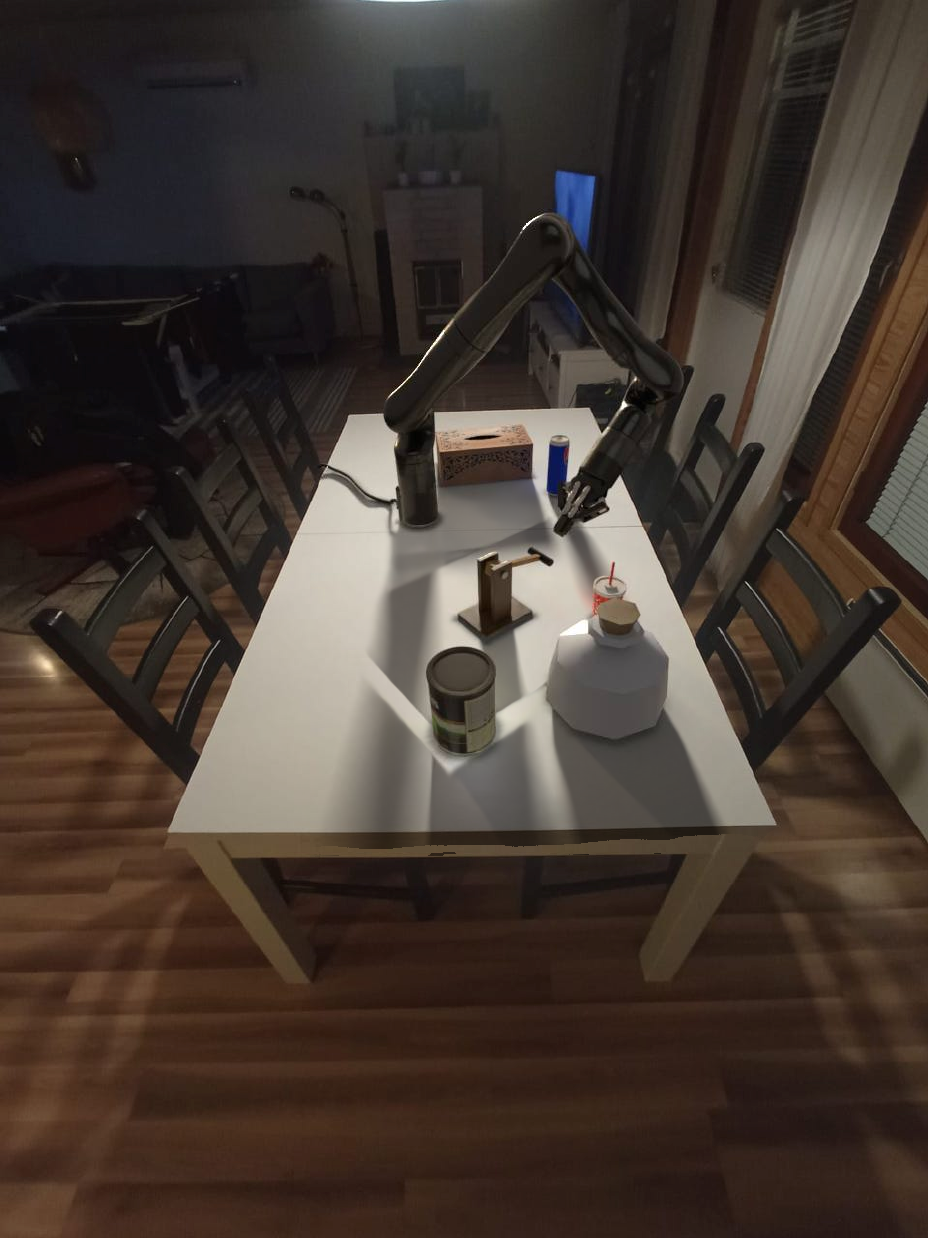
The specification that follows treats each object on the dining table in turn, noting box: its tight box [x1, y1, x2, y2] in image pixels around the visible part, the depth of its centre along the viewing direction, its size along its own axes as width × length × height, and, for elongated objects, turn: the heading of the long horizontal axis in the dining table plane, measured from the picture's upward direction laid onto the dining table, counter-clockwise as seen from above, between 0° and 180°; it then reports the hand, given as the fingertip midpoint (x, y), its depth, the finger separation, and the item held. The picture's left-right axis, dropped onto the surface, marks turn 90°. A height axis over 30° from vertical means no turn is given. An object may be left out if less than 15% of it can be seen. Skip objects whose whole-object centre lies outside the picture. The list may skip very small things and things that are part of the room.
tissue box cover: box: [435, 423, 534, 487], centre depth 160 cm, size 26×14×10 cm, turn 97°
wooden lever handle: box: [485, 546, 554, 577], centre depth 108 cm, size 14×6×2 cm, turn 127°
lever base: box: [457, 550, 533, 639], centre depth 108 cm, size 12×9×14 cm
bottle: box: [545, 598, 670, 740], centre depth 89 cm, size 20×20×19 cm
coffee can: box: [425, 645, 497, 757], centre depth 86 cm, size 10×10×14 cm
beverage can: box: [546, 434, 571, 497], centre depth 147 cm, size 5×5×15 cm
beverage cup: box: [592, 561, 628, 617], centre depth 105 cm, size 6×6×14 cm
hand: (557, 534), depth 111 cm, fingers closed
